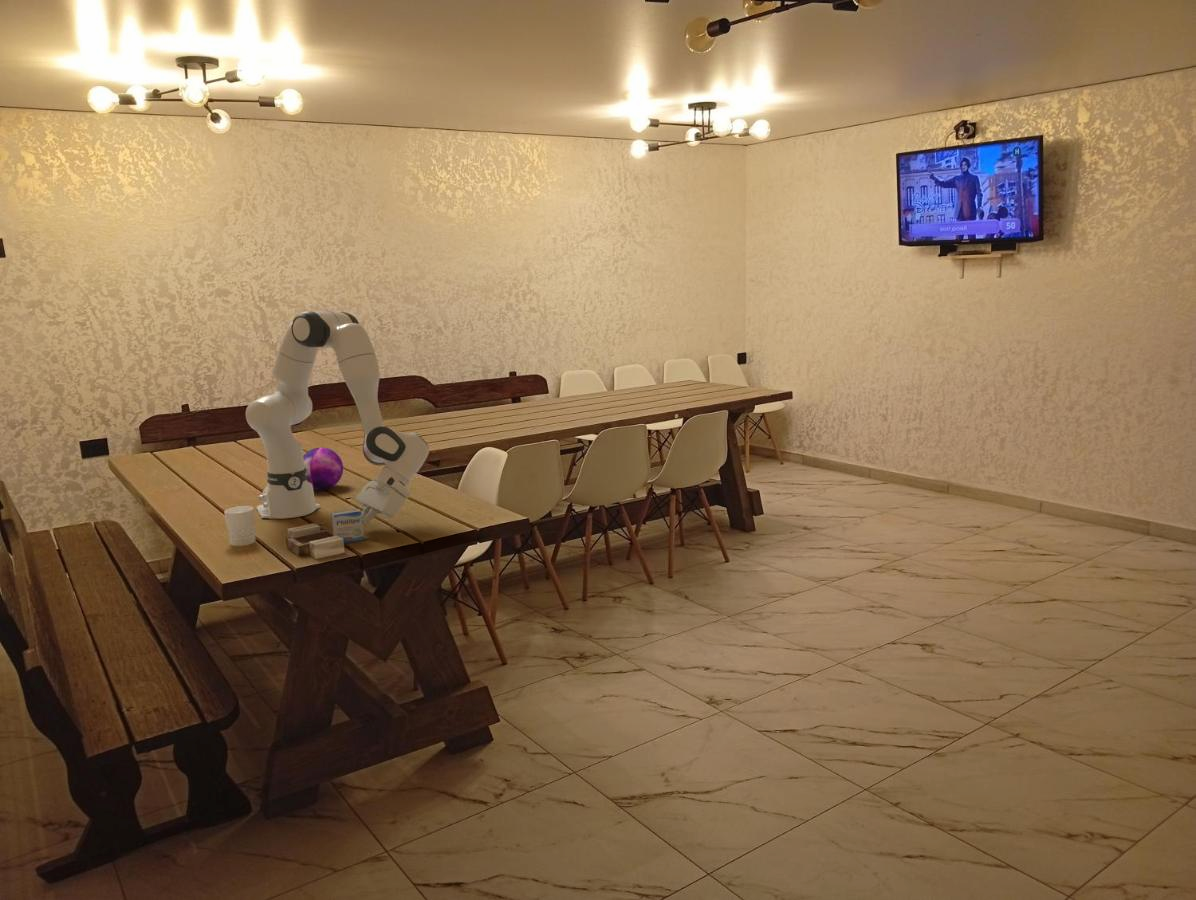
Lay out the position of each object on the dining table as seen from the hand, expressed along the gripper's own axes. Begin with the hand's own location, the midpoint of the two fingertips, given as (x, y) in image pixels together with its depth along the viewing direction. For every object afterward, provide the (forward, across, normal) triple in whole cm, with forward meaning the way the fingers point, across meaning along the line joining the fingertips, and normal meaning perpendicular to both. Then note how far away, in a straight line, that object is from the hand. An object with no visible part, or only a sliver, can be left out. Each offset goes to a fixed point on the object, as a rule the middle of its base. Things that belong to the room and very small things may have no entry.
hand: (362, 522), depth 261 cm
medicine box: (+7, +1, 0) cm, 7 cm away
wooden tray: (+13, 0, -7) cm, 15 cm away
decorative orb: (-7, -66, +13) cm, 68 cm away
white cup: (+23, -20, -17) cm, 35 cm away
